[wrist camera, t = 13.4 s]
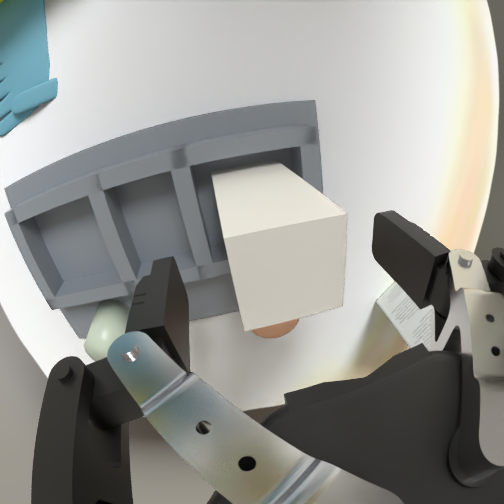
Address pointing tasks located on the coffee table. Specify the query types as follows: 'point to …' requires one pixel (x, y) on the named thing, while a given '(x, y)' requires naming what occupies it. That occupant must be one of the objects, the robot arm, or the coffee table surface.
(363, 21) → the coffee table surface
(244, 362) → the coffee table surface
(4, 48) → the blue yellow plastic figure
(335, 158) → the coffee table surface
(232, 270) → the plug
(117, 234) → the grey compartment tray
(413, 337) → the small box
